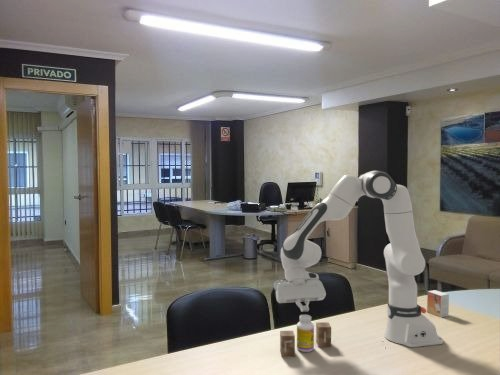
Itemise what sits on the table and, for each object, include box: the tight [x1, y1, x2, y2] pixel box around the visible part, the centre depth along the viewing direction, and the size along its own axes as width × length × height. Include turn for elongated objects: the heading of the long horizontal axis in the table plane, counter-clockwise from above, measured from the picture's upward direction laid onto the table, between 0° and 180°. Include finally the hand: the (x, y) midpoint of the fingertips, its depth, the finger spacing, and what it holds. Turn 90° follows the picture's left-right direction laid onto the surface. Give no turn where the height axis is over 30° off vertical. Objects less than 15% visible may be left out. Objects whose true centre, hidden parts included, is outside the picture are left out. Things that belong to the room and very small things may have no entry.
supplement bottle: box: [296, 314, 315, 353], centre depth 159 cm, size 7×7×13 cm
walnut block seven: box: [279, 330, 296, 358], centre depth 155 cm, size 5×5×8 cm
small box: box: [426, 289, 450, 318], centre depth 196 cm, size 8×6×10 cm
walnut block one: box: [315, 321, 332, 348], centre depth 163 cm, size 5×5×8 cm
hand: (305, 310), depth 159 cm, fingers closed
